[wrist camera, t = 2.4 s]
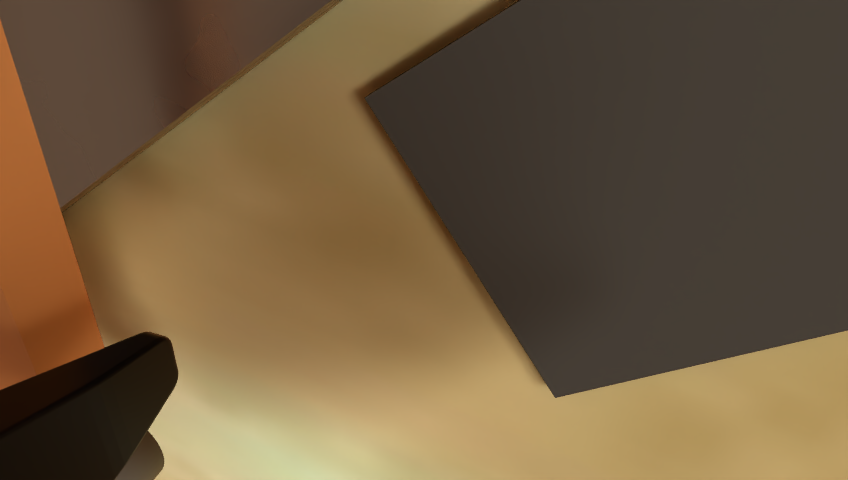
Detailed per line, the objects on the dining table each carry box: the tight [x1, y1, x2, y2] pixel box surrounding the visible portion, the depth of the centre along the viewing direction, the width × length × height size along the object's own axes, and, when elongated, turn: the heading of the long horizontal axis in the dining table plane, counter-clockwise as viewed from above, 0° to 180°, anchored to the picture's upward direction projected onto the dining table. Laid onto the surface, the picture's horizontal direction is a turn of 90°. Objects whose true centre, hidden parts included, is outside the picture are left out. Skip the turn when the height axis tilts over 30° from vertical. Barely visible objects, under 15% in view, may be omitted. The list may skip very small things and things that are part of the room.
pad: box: [365, 0, 848, 398], centre depth 10 cm, size 7×7×1 cm
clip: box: [0, 20, 164, 480], centre depth 10 cm, size 13×8×4 cm, turn 178°
